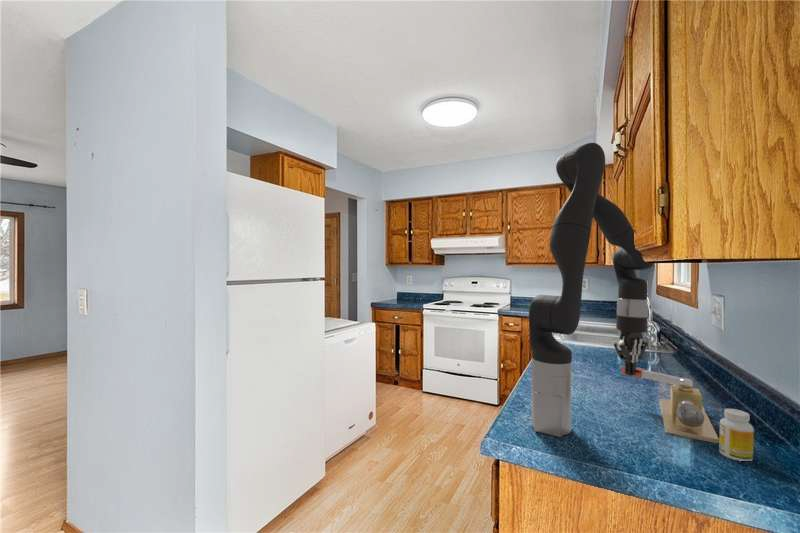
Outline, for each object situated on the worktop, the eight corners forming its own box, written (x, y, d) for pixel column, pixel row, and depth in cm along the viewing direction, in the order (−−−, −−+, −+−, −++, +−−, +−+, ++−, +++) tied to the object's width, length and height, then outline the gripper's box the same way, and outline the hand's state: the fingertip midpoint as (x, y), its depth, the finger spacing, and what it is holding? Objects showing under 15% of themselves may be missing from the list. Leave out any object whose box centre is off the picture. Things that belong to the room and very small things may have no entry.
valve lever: (693, 387, 95) (693, 379, 95) (690, 389, 94) (690, 381, 94) (625, 372, 108) (625, 365, 108) (621, 374, 107) (621, 366, 107)
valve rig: (719, 443, 83) (719, 406, 83) (665, 432, 88) (665, 397, 88) (702, 409, 103) (702, 378, 103) (659, 401, 108) (659, 372, 108)
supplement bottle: (712, 451, 80) (713, 408, 79) (730, 448, 81) (731, 405, 81) (741, 464, 74) (741, 418, 74) (759, 461, 76) (760, 415, 76)
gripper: (632, 317, 97) (630, 381, 97) (658, 315, 103) (657, 375, 103) (605, 313, 104) (603, 373, 104) (631, 312, 110) (630, 369, 110)
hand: (630, 374), depth 103 cm, fingers closed
